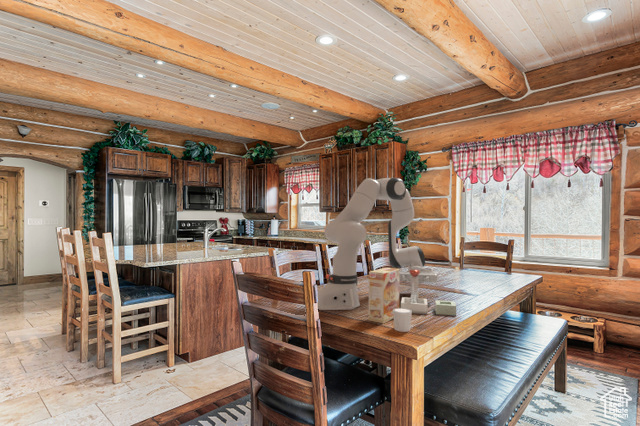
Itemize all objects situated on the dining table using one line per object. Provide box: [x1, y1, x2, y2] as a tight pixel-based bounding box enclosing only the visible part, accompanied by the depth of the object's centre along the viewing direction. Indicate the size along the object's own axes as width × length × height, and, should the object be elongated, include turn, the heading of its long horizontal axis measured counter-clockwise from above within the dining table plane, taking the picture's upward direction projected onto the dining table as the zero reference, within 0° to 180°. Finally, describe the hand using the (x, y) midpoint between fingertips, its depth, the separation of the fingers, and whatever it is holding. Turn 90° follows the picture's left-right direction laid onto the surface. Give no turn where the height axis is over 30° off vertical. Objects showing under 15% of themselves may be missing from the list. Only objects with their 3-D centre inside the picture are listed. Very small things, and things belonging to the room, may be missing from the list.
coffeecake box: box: [368, 267, 400, 324], centre depth 144 cm, size 15×7×20 cm, turn 143°
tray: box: [400, 296, 428, 315], centre depth 156 cm, size 11×11×4 cm
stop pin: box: [409, 270, 420, 303], centre depth 156 cm, size 4×4×16 cm
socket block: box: [434, 299, 457, 316], centre depth 153 cm, size 8×8×4 cm
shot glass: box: [393, 307, 413, 333], centre depth 130 cm, size 7×7×7 cm
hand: (415, 279), depth 166 cm, fingers open, 8 cm apart
